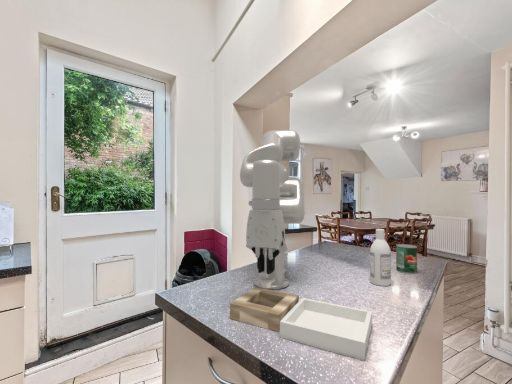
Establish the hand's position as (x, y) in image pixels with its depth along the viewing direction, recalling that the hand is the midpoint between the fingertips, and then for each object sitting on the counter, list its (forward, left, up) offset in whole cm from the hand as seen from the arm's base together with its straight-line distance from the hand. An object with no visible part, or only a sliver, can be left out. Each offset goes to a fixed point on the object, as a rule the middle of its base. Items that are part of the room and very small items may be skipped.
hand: (266, 271), depth 72 cm
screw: (0, 0, -4) cm, 4 cm away
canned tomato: (-65, +35, -12) cm, 75 cm away
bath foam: (-42, +26, -12) cm, 51 cm away
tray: (+2, +17, -11) cm, 21 cm away
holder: (+1, 0, -11) cm, 11 cm away
